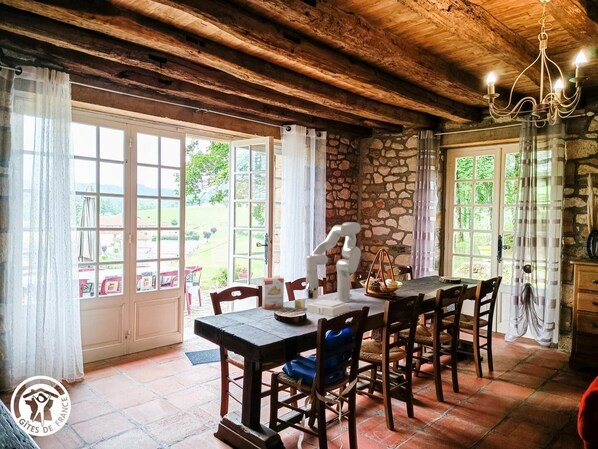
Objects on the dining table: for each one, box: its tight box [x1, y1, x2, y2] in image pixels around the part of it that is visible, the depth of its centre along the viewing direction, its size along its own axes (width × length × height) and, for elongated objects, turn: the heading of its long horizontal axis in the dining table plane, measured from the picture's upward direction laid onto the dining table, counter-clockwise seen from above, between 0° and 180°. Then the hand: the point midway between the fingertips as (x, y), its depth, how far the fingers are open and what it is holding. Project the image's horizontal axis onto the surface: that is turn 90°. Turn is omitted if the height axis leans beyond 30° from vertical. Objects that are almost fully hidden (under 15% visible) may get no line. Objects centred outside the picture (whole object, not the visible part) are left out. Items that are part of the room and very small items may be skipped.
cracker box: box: [261, 276, 285, 310], centre depth 285 cm, size 14×6×21 cm, turn 112°
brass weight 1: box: [294, 298, 306, 310], centre depth 284 cm, size 5×5×6 cm
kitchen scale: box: [306, 298, 350, 317], centre depth 276 cm, size 21×20×6 cm
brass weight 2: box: [307, 289, 319, 300], centre depth 295 cm, size 5×5×6 cm
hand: (312, 297), depth 296 cm, fingers closed on brass weight 2, 5 cm apart
